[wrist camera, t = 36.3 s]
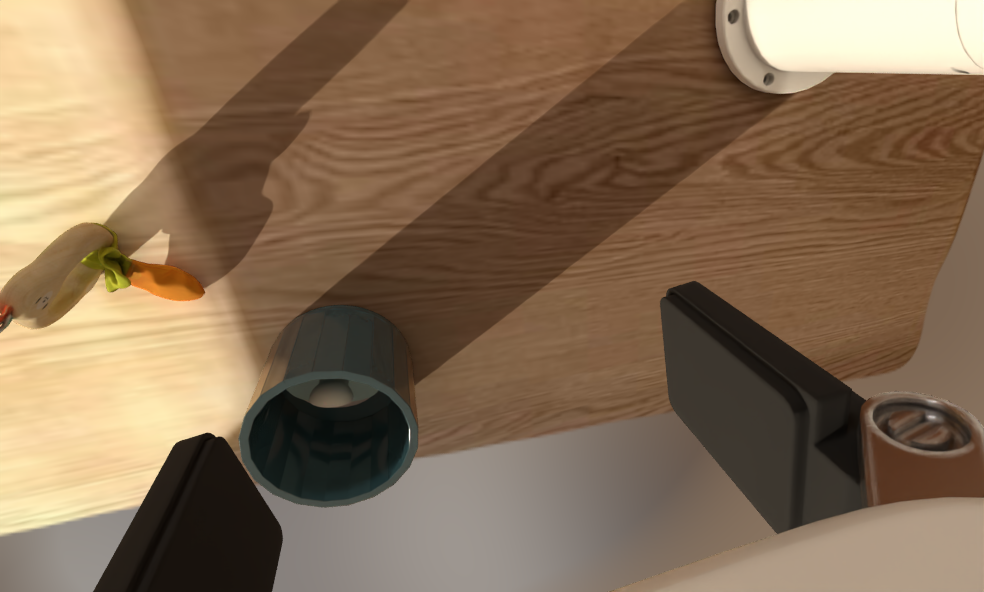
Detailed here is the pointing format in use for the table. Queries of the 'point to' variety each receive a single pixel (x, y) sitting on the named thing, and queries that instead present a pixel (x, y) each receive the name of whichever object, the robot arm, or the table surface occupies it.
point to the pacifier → (333, 392)
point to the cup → (332, 411)
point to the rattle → (84, 277)
